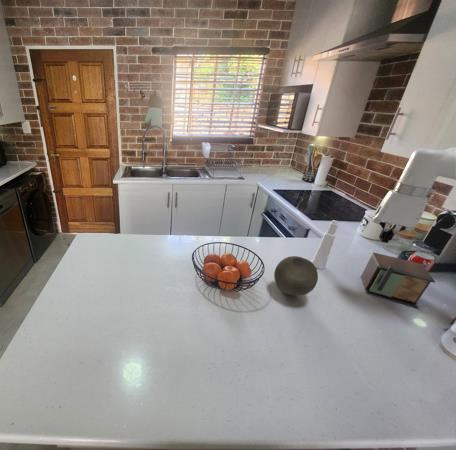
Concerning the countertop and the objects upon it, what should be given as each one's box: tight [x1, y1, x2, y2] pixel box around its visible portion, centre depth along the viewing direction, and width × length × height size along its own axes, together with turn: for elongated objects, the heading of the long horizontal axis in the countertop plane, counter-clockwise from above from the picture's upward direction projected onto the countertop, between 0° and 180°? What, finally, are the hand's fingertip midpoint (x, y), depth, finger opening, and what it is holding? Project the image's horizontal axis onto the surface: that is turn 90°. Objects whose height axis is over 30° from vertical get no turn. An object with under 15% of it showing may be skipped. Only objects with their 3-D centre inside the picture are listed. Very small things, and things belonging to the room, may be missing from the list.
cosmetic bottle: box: [310, 219, 340, 270], centre depth 106 cm, size 6×6×22 cm
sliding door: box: [370, 266, 404, 297], centre depth 89 cm, size 6×4×13 cm, turn 61°
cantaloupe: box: [273, 255, 319, 297], centre depth 90 cm, size 14×14×15 cm
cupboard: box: [360, 252, 436, 309], centre depth 94 cm, size 15×12×12 cm
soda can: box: [406, 251, 436, 273], centre depth 101 cm, size 7×7×12 cm
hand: (383, 240), depth 85 cm, fingers closed
